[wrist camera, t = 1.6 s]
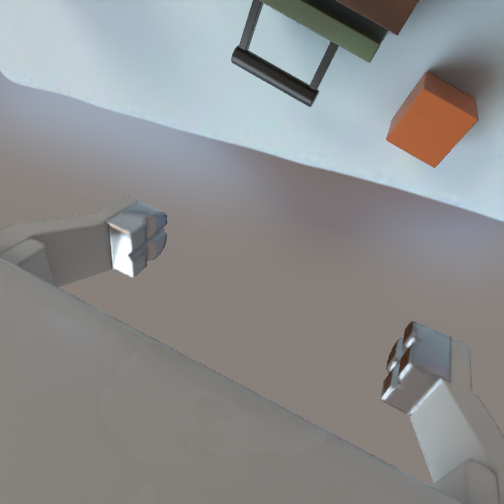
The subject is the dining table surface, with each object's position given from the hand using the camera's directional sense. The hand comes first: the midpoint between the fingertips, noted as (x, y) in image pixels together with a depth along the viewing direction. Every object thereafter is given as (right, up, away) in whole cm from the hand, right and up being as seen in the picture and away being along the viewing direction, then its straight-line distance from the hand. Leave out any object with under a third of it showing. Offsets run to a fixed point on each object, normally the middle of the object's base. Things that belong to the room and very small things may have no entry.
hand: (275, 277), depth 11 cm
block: (+14, +12, +19) cm, 26 cm away
